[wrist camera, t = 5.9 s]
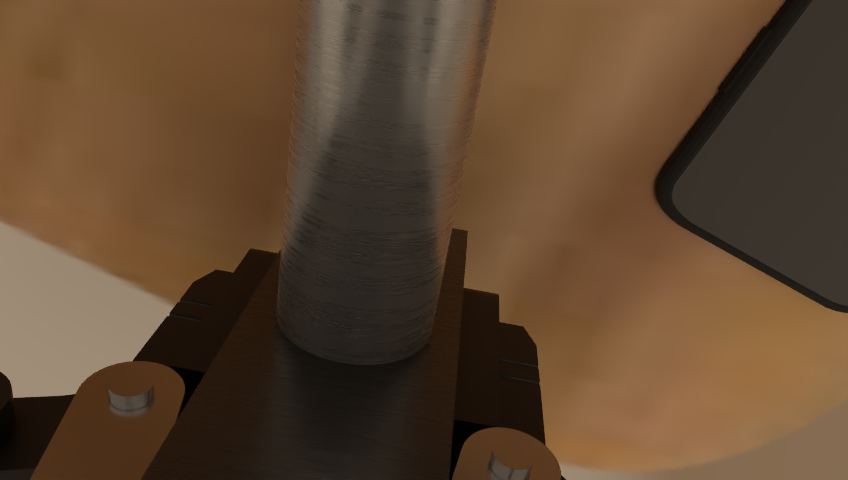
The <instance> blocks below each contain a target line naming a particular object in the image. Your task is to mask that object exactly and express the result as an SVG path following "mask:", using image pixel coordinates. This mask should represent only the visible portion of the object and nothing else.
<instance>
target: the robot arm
mask: <svg viewBox="0 0 848 480" xmlns="http://www.w3.org/2000/svg"><path fill="white" fill-rule="evenodd" d="M277 255H278V253H273V252H268V251H262V250H257V249H250V250H249V251H248V252H247V254H246V255H245V257H244V258H243V260H242V261H241V263H240V264H239V266H238V267H237V268H236V270H235V271H234V273H231V272H226V271H221V270H215V271H213V272H211V273H209V274H207V275H206V276H204V277H202V278H200V279H198V280H196V281H195V282H193V283H192V285H191V286H190V287H189V289H188V290H187V291H186V293H185V294H184V295H183V296H182V298H181V300H180V302H178V303H177V304H176V305H175V307H174V308H173V309H172V311H171V312H170V316H167V317H166V318H165V320H164V321H163V322H162V324H161V325H160V326H159V327H158V329H157V330H156V331H155V333H154V334H153V335H152V336H151V338H150V339H149V340H148V342H147V343H146V344H145V345H144V347H143V348H142V349H141V351H140V352H139V353H138V355H137V356H136V357H135V358H134V360H133V361H132V362H124V363H118V364H115V365H111V366H108V367H106V368H103V369H101V370H99V371H98V372H96V373H94V374H92V375H91V376H90V377H88V378H87V379H86V380H85V381H84V382H83V383H82V384H81V386H80V387H79V389H78V391H77V392H76V394H73V395H65V396H48V397H25V398H13V394H12V388H11V384H10V381H9V379H8V378H7V377H6V376H5V375H4V374H3V373H1V372H0V480H141V478H142V476H143V475H144V473H145V472H146V470H147V468H148V467H149V465H150V463H151V462H152V460H153V458H154V457H155V455H156V453H157V452H158V450H159V449H160V447H161V445H162V444H163V442H164V440H165V439H166V437H167V435H168V434H169V432H170V430H171V429H172V427H173V426H174V424H175V422H176V421H177V419H178V417H179V416H180V414H181V412H182V411H183V409H184V407H185V406H186V404H187V403H188V401H189V399H190V398H191V396H192V394H193V393H194V391H195V389H196V388H197V386H198V384H199V383H200V381H201V380H202V378H203V376H204V375H205V373H206V371H207V370H208V368H209V366H210V365H211V363H212V361H213V360H214V358H215V357H216V355H217V353H218V352H219V350H220V348H221V347H222V345H223V343H224V342H225V340H226V338H227V337H228V335H229V334H230V332H231V330H232V329H233V327H234V325H235V324H236V322H237V320H238V319H239V317H240V315H241V314H242V312H243V311H244V309H245V307H246V306H247V304H248V302H249V301H250V299H251V297H252V296H253V294H254V292H255V291H256V289H257V288H258V286H259V284H260V283H261V281H262V279H263V278H264V276H265V274H266V273H267V271H268V269H269V268H270V266H271V265H272V263H273V261H274V260H275V258H276V256H277ZM539 382H540V379H539V369H538V358H537V347H536V344H535V343H534V342H533V340H532V339H531V337H530V336H529V334H528V333H527V331H526V330H525V328H524V327H523V326H517V325H512V324H506V323H501V322H499V295H498V294H494V293H489V292H484V291H478V290H473V289H467V288H463V301H462V314H461V327H460V341H459V354H458V368H457V381H456V394H455V408H454V421H453V434H452V448H451V461H450V474H449V480H566V479H565V478H564V477H563V476H562V475H561V470H560V466H559V464H558V461H557V459H556V458H555V456H554V455H553V453H552V452H551V451H550V450H549V449H548V448H547V447H546V444H545V433H544V422H543V412H542V401H541V390H540V385H539Z"/></svg>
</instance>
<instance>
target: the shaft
mask: <svg viewBox="0 0 848 480" xmlns="http://www.w3.org/2000/svg"><path fill="white" fill-rule="evenodd" d="M496 3H497V0H300V8H299V21H298V34H297V48H296V61H295V74H294V87H293V100H292V113H291V126H290V139H289V152H288V166H287V179H286V192H285V205H284V218H283V231H282V244H281V250H280V251H279V253H278V255H277V256H276V258H275V260H274V261H273V263H272V265H271V266H270V268H269V269H268V271H267V273H266V274H265V276H264V278H263V279H262V281H261V283H260V284H259V286H258V288H257V289H256V291H255V292H254V294H253V296H252V297H251V299H250V301H249V302H248V304H247V306H246V307H245V309H244V311H243V312H242V314H241V315H240V317H239V319H238V320H237V322H236V324H235V325H234V327H233V329H232V330H231V332H230V334H229V335H228V337H227V338H226V340H225V342H224V343H223V345H222V347H221V348H220V350H219V352H218V353H217V355H216V357H215V358H214V360H213V361H212V363H211V365H210V366H209V368H208V370H207V371H206V373H205V375H204V376H203V378H202V380H201V381H200V383H199V384H198V386H197V388H196V389H195V391H194V393H193V394H192V396H191V398H190V399H189V401H188V403H187V404H186V406H185V407H184V409H183V411H182V412H181V414H180V416H179V417H178V419H177V421H176V422H175V424H174V426H173V427H172V429H171V430H170V432H169V434H168V435H167V437H166V439H165V440H164V442H163V444H162V445H161V447H160V449H159V450H158V452H157V453H156V455H155V457H154V458H153V460H152V462H151V463H150V465H149V467H148V468H147V470H146V472H145V473H144V475H143V476H142V478H141V480H449V474H450V461H451V448H452V434H453V421H454V408H455V394H456V381H457V368H458V354H459V341H460V327H461V314H462V301H463V287H464V274H465V261H466V247H467V234H468V231H465V230H459V229H454V228H452V227H453V222H454V217H455V212H456V206H457V201H458V196H459V191H460V186H461V181H462V176H463V171H464V166H465V161H466V156H467V151H468V146H469V140H470V135H471V130H472V125H473V120H474V115H475V110H476V105H477V100H478V95H479V90H480V85H481V80H482V74H483V69H484V64H485V59H486V54H487V49H488V44H489V39H490V34H491V29H492V24H493V19H494V14H495V8H496Z"/></svg>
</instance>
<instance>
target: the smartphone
mask: <svg viewBox="0 0 848 480" xmlns="http://www.w3.org/2000/svg"><path fill="white" fill-rule="evenodd" d="M719 90H720V92H719V93H718V95H717V96H716V98H715V99H714V100H713V102H712V103H711V104H710V106H709V107H708V108H707V110H706V111H705V113H704V114H703V115H702V117H701V118H700V119H699V121H698V122H697V123H696V125H695V126H694V128H693V129H692V130H691V132H690V133H689V134H688V136H687V137H686V138H685V140H684V141H683V142H682V144H681V145H680V147H679V148H678V149H677V151H676V152H675V153H674V155H673V156H672V157H671V159H670V160H669V162H668V163H667V164H666V166H665V167H664V168H663V170H662V172H661V174H660V176H659V178H658V182H657V186H656V192H657V199H658V202H659V204H660V206H661V208H662V209H663V211H664V212H665V213H666V214H667V215H668V216H669V217H670V218H671V219H672V220H673V221H675V222H676V223H677V224H678V225H680V226H681V227H683V228H685V229H687V230H689V231H690V232H692V233H694V234H696V235H697V236H699V237H701V238H703V239H705V240H706V241H708V242H710V243H712V244H714V245H715V246H717V247H719V248H721V249H723V250H724V251H726V252H728V253H730V254H732V255H733V256H735V257H737V258H739V259H741V260H742V261H744V262H746V263H748V264H749V265H751V266H753V267H755V268H757V269H758V270H760V271H762V272H764V273H766V274H767V275H769V276H771V277H773V278H775V279H776V280H778V281H780V282H782V283H783V284H785V285H787V286H789V287H791V288H792V289H794V290H796V291H798V292H799V293H801V294H803V295H805V296H807V297H808V298H810V299H812V300H814V301H815V302H817V303H819V304H821V305H823V306H824V307H826V308H829V309H832V310H835V311H839V312H844V313H848V0H787V1H786V3H785V4H784V5H783V7H782V8H781V9H780V11H779V12H778V13H777V15H776V16H775V17H774V19H773V20H772V21H771V23H770V24H769V26H768V27H764V28H763V30H762V31H761V32H760V34H759V35H758V36H757V38H756V39H755V40H754V42H753V43H752V44H751V46H750V47H749V49H748V50H747V51H746V53H745V54H744V55H743V57H742V58H741V59H740V61H739V62H738V63H737V65H736V66H735V67H734V69H733V70H732V72H731V73H730V74H729V76H728V77H727V78H726V80H725V81H724V82H723V84H722V85H721V86H720V88H719Z"/></svg>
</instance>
